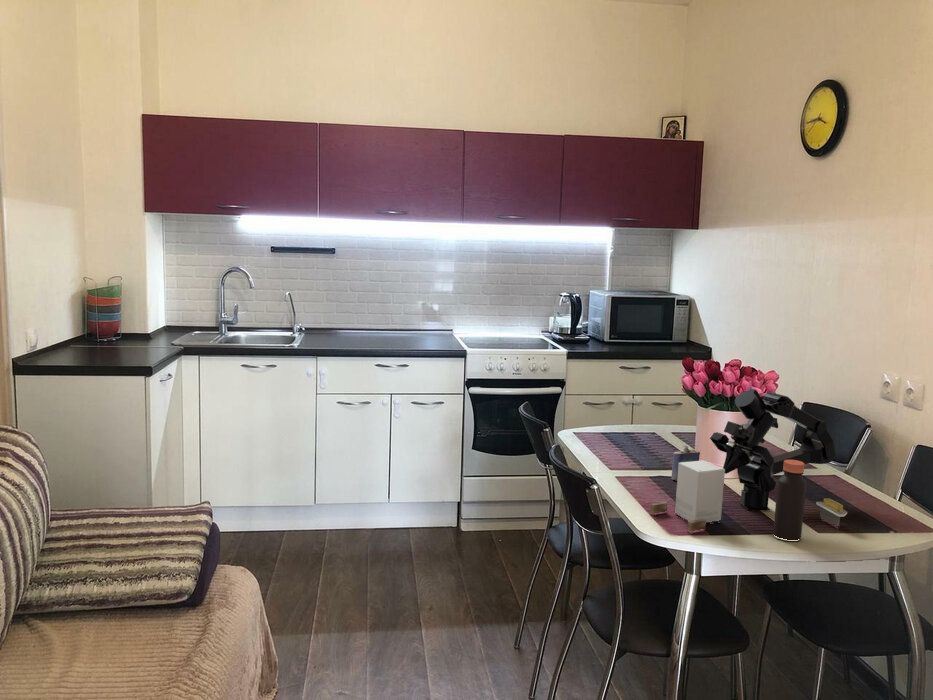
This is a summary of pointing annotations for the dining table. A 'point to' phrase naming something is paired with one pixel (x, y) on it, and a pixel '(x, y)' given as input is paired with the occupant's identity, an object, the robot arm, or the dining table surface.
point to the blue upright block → (683, 459)
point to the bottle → (790, 501)
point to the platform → (831, 511)
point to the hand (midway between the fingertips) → (724, 472)
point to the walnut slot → (691, 524)
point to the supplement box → (699, 491)
